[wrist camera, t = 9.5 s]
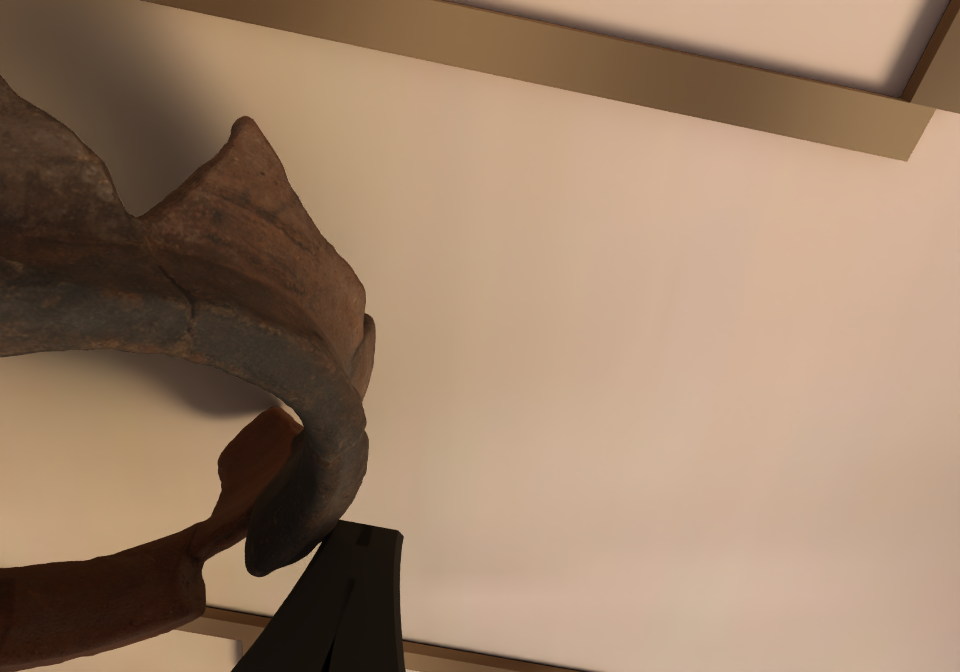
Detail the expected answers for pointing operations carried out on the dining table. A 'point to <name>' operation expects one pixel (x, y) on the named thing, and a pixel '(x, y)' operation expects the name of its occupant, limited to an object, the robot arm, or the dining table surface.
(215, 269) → the brown bent frame piece
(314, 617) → the robot arm
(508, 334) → the dining table surface
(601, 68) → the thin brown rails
